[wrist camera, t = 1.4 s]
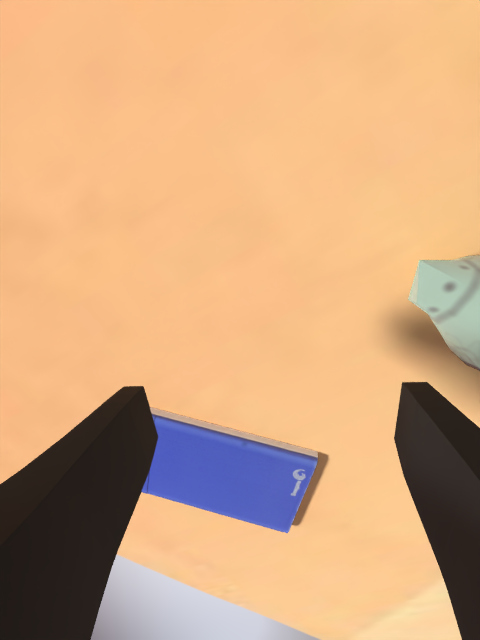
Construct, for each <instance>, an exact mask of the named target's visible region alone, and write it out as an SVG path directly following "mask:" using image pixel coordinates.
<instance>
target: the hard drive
mask: <svg viewBox="0 0 480 640" xmlns="http://www.w3.org/2000/svg"><path fill="white" fill-rule="evenodd" d="M150 410H151V413H152V417H153V420H154V423H155V427H156V430H157V434H158V441H157V445H156V449H155V453H154V457H153V460H152V464H151V467H150V471H149V473H148V476H147V479H146V481H145V484H144V486H143V489H142V491H141V492H143V493H147V494H152V495H155V496H159V497H162V498H166V499H169V500H172V501H176V502H180V503H183V504H187V505H190V506H194V507H197V508H200V509H204V510H207V511H211V512H214V513H218V514H221V515H225V516H228V517H232V518H235V519H239V520H242V521H246V522H249V523H253V524H257V525H260V526H263V527H267V528H271V529H274V530H278V531H281V532H286V533H288V532H289V530H290V527H291V525H292V523H293V520H294V518H295V515H296V513H297V511H298V508H299V506H300V504H301V501H302V499H303V496H304V494H305V492H306V490H307V487H308V485H309V482H310V480H311V477H312V475H313V473H314V471H315V468H316V465H317V462H318V452H317V451H314V450H310V449H306V448H302V447H299V446H295V445H291V444H287V443H284V442H280V441H276V440H272V439H269V438H265V437H261V436H257V435H254V434H250V433H246V432H242V431H238V430H235V429H231V428H227V427H223V426H220V425H216V424H212V423H208V422H204V421H201V420H197V419H193V418H189V417H186V416H182V415H178V414H174V413H170V412H167V411H163V410H159V409H155V408H152V407H150Z"/></svg>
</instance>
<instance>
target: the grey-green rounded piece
mask: <svg viewBox="0 0 480 640" xmlns="http://www.w3.org/2000/svg"><path fill="white" fill-rule="evenodd" d="M408 300H409V301H411V302H412V303H413V304H415V305H416V306H418V307H419V308H420V309H422V310H423V311H424V312H426V313H427V314H428V315H429V317H430V318H431V320H432V321H433V323H434V324H435V326H436V327H437V329H438V331H439V332H440V334H441V335H442V337H443V339H444V340H445V342H446V344H447V346H448V347H449V349H450V350H451V351H452V352H453V353H454V354H456V355H457V356H458V357H459V358H460V359H461V360H462V361H463V362H464V363H465V364H466V365H468V366H470V367H473V368H475V369H477V370H480V255H474V256H466V257H462V258H459V259H455V260H419V263H418V267H417V270H416V274H415V277H414V281H413V284H412V287H411V291H410V294H409V298H408Z"/></svg>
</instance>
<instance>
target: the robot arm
mask: <svg viewBox="0 0 480 640" xmlns="http://www.w3.org/2000/svg"><path fill="white" fill-rule="evenodd" d="M394 439H395V443H396V447H397V451H398V456H399V459H400V463H401V467H402V471H403V474H404V477H405V480H406V483H407V485H408V488H409V490H410V493H411V496H412V498H413V501H414V503H415V506H416V509H417V511H418V514H419V516H420V519H421V521H422V524H423V526H424V529H425V531H426V534H427V537H428V539H429V542H430V544H431V547H432V549H433V552H434V554H435V557H436V560H437V562H438V565H439V567H440V570H441V573H442V576H443V579H444V581H445V584H446V587H447V590H448V593H449V597H450V600H451V604H452V607H453V610H454V614H455V617H456V620H457V624H458V627H459V631H460V634H461V637H462V640H480V428H479V427H478V426H477V425H476V424H474V423H473V422H472V421H471V420H470V419H468V418H467V417H466V416H465V415H464V414H463V413H462V412H460V411H459V410H458V409H457V408H456V407H455V406H454V405H452V404H451V403H450V402H449V401H448V400H447V399H446V398H445V397H443V396H442V395H441V394H440V393H439V392H438V391H437V390H435V389H434V388H433V387H432V386H431V385H430V384H429V383H427V382H402V388H401V395H400V402H399V409H398V416H397V423H396V430H395V437H394ZM157 441H158V434H157V430H156V427H155V423H154V420H153V417H152V413H151V410H150V407H149V403H148V400H147V396H146V393H145V390H144V386H129V387H123V388H122V389H120V390H119V391H118V392H116V393H115V394H114V395H113V396H111V397H110V398H109V399H108V400H107V401H106V402H104V403H103V404H102V405H101V406H100V407H98V408H97V409H96V410H95V411H94V412H93V413H91V414H90V415H89V416H88V417H87V418H85V419H84V420H83V421H82V422H81V423H79V424H78V425H77V426H76V427H75V428H74V429H72V430H71V431H70V432H69V433H68V434H66V435H65V436H64V437H63V438H61V439H60V440H59V441H58V442H56V443H55V444H54V445H52V446H51V447H50V448H49V449H47V450H46V451H45V452H43V453H42V454H41V455H40V456H38V457H37V458H36V459H34V460H33V461H32V462H31V463H29V464H28V465H27V466H25V467H24V468H23V469H21V470H20V471H19V472H17V473H16V474H14V475H13V476H12V477H10V478H9V479H7V480H6V481H5V482H3V483H2V484H0V640H90V639H91V636H92V632H93V629H94V625H95V621H96V618H97V614H98V610H99V607H100V604H101V601H102V597H103V594H104V591H105V587H106V584H107V581H108V578H109V574H110V571H111V568H112V565H113V562H114V560H115V557H116V554H117V551H118V548H119V546H120V544H121V541H122V539H123V536H124V534H125V531H126V529H127V526H128V524H129V521H130V519H131V516H132V514H133V511H134V509H135V506H136V504H137V501H138V499H139V496H140V494H141V491H142V489H143V486H144V484H145V481H146V479H147V476H148V473H149V471H150V467H151V464H152V460H153V457H154V453H155V449H156V445H157Z"/></svg>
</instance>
